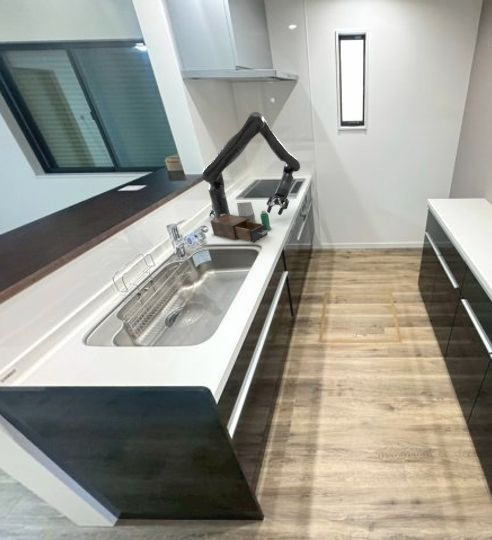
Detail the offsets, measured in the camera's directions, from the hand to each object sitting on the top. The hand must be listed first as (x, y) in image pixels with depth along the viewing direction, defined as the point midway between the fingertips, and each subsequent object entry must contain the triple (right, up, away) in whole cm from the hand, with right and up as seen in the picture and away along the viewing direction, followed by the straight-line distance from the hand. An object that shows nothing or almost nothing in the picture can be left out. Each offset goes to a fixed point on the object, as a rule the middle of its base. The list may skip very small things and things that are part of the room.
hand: (273, 213), depth 179 cm
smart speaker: (-18, -4, +9) cm, 21 cm away
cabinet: (-23, -13, -6) cm, 27 cm away
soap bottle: (-4, -10, -2) cm, 11 cm away
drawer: (-9, -16, -13) cm, 22 cm away
